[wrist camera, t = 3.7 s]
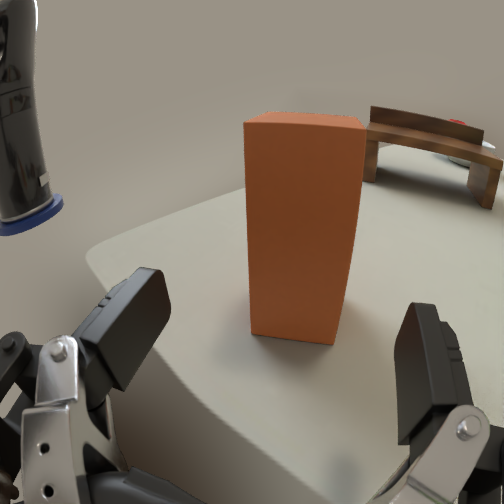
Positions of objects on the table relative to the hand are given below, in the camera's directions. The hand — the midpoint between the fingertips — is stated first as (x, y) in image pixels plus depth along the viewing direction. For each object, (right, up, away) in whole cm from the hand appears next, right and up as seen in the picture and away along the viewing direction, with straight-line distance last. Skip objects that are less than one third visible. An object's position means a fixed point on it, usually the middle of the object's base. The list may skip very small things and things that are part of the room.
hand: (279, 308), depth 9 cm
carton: (+2, -2, +10) cm, 11 cm away
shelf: (+28, +13, +34) cm, 45 cm away
